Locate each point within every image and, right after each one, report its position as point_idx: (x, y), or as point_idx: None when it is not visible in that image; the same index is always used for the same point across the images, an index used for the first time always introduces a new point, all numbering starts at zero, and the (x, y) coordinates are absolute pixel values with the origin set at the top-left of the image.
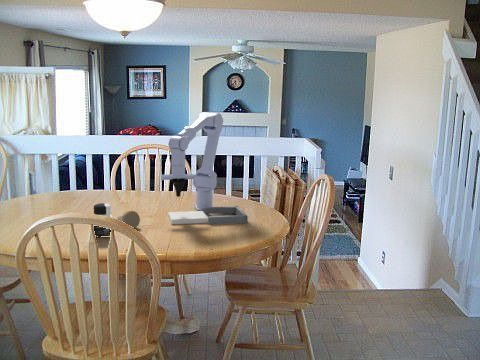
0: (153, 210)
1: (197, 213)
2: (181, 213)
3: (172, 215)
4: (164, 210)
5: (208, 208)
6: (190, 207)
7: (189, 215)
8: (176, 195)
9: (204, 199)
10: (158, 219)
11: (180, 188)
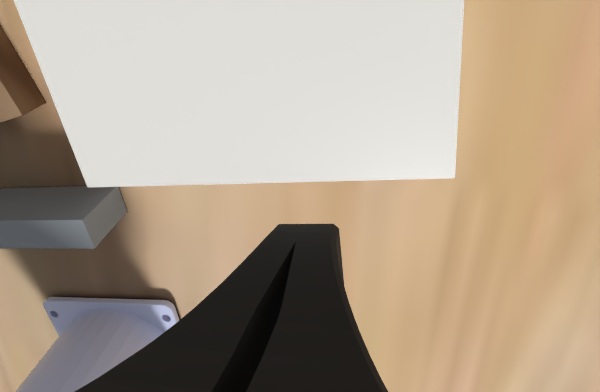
0: (550, 363)
1: (121, 94)
2: (301, 106)
3: (424, 14)
4: (450, 348)
5: (28, 217)
6: None
7: (201, 3)
8: (341, 275)
9: (69, 378)
10: (591, 49)
11: (209, 327)
